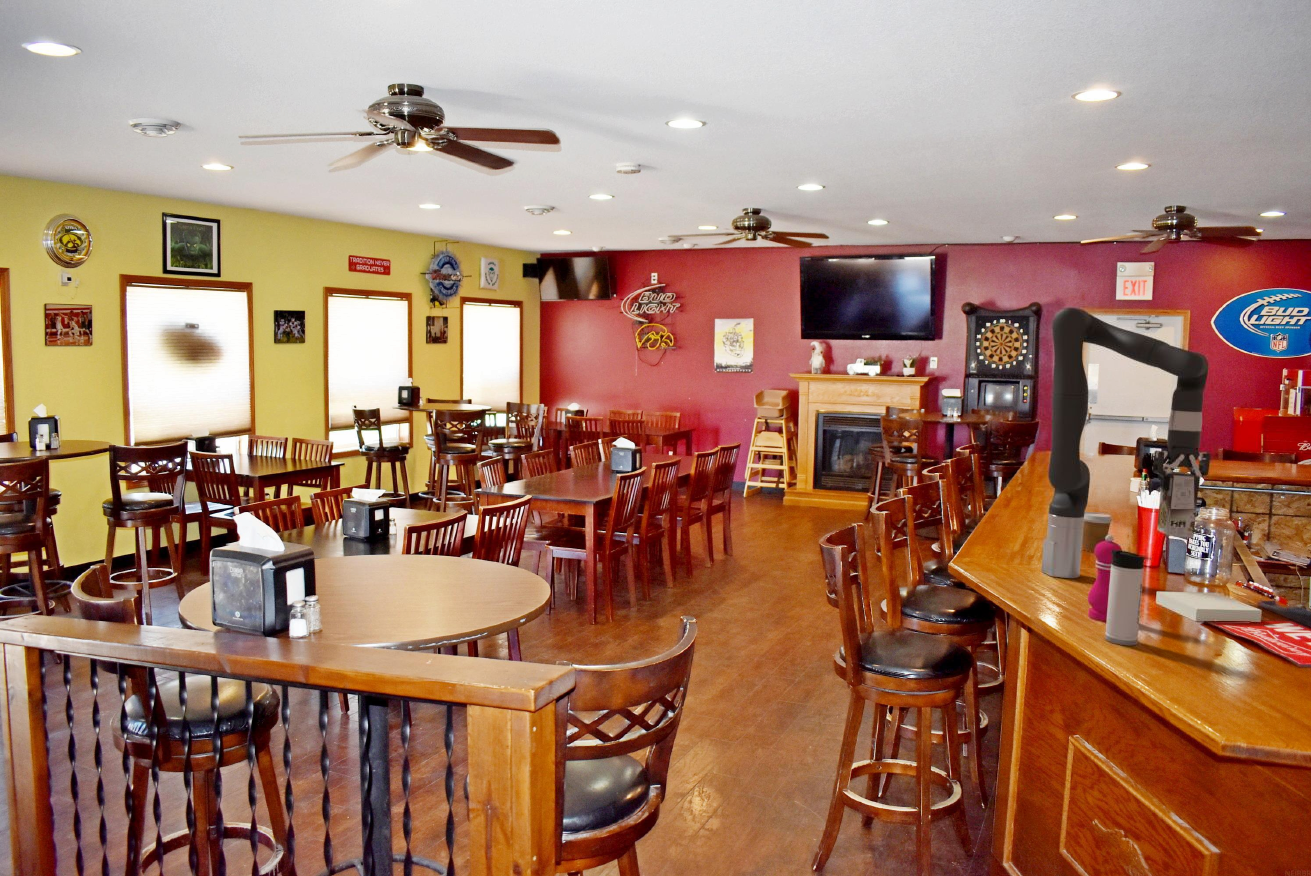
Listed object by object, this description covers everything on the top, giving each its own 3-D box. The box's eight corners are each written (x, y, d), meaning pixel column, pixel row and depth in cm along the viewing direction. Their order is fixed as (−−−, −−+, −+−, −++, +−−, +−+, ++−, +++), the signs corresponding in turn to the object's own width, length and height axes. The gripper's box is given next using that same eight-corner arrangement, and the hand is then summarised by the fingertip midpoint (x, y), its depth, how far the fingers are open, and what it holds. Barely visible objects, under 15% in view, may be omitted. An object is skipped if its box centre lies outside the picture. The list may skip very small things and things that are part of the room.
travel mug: (1097, 636, 203) (1105, 547, 201) (1126, 637, 204) (1133, 547, 202) (1114, 645, 197) (1121, 553, 195) (1143, 646, 198) (1151, 554, 196)
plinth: (1195, 621, 219) (1196, 608, 219) (1155, 602, 235) (1156, 591, 235) (1260, 622, 220) (1261, 610, 219) (1216, 604, 236) (1217, 592, 235)
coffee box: (1194, 538, 239) (1200, 476, 237) (1167, 536, 240) (1173, 474, 238) (1182, 531, 248) (1187, 472, 246) (1156, 529, 249) (1161, 470, 247)
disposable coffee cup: (1111, 550, 301) (1114, 514, 300) (1107, 555, 293) (1110, 518, 292) (1079, 546, 306) (1082, 510, 305) (1075, 551, 298) (1077, 514, 297)
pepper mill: (1118, 624, 214) (1125, 539, 212) (1084, 618, 218) (1090, 535, 216) (1121, 617, 220) (1128, 534, 218) (1088, 612, 224) (1094, 530, 222)
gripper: (1202, 428, 245) (1196, 489, 247) (1149, 426, 245) (1144, 488, 246) (1220, 430, 238) (1214, 494, 239) (1166, 428, 237) (1160, 492, 239)
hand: (1178, 490), depth 243 cm, fingers closed on coffee box, 7 cm apart
